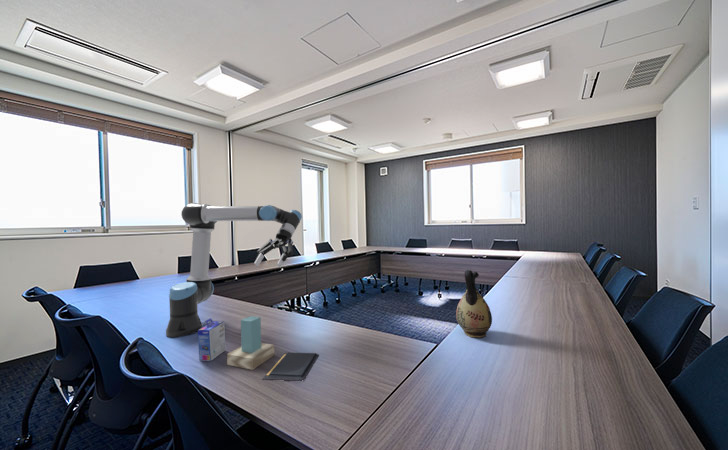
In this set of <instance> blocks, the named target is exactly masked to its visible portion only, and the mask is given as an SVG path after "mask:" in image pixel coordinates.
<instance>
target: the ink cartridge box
mask: <svg viewBox="0 0 728 450" xmlns="http://www.w3.org/2000/svg"><path fill="white" fill-rule="evenodd" d="M204 322H205V326H202V328H201V329H199V330H198V332H197V341H198V357H199V361H200V362H211V361H213V360H215V358H217V357H218V356H220V355H221V354H222V353H223V352H225V351H226V350H227V349H226V331H225V321H219V320H218V321H217V320H215V321H213V319H212V318H211V317H210V318H208V319H207V320H205V321H204Z"/></svg>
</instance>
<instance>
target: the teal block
mask: <svg viewBox="0 0 728 450" xmlns="http://www.w3.org/2000/svg"><path fill="white" fill-rule="evenodd" d="M261 325H262V323H261V317H260V316H254V315H250V316H247V317H245V318H242V319H241V320H240V340H241V342H240V343H241V345H240V347H241V348H242V351H243V352H248V353H253V352H255V351H256V350H258V349H260V348H261V343H262V329H261V328H262V326H261Z"/></svg>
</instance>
